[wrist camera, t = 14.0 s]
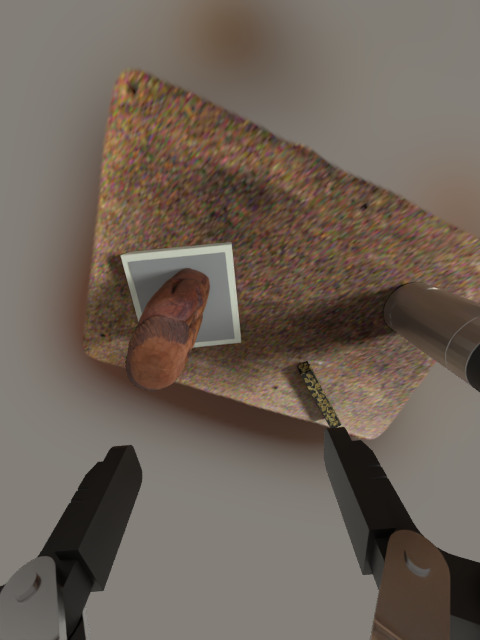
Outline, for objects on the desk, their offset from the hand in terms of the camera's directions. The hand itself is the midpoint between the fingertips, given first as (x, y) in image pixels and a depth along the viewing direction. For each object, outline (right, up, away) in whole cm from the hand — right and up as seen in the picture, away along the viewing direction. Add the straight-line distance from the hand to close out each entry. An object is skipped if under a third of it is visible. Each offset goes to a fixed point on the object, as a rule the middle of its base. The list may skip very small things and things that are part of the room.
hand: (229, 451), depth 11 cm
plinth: (-8, +9, +32) cm, 34 cm away
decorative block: (+16, -9, +41) cm, 45 cm away
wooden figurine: (-8, +8, +29) cm, 31 cm away
